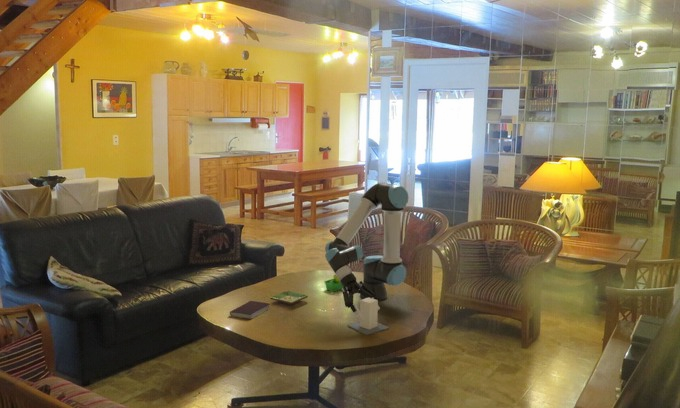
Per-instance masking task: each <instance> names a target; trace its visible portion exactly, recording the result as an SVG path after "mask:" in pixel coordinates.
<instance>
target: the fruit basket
mask: <svg viewBox="0 0 680 408" xmlns="http://www.w3.org/2000/svg"><path fill="white" fill-rule="evenodd" d="M324 284H325V287H326V291H327V290H328V291H330V292H336V291H340V290H341V289H342V288H343V285H342V284H341V282H340V280H339V279H338V277H337V276H336V274H335V273H334V275H333V278H332V279H328V280H324Z"/></svg>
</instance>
